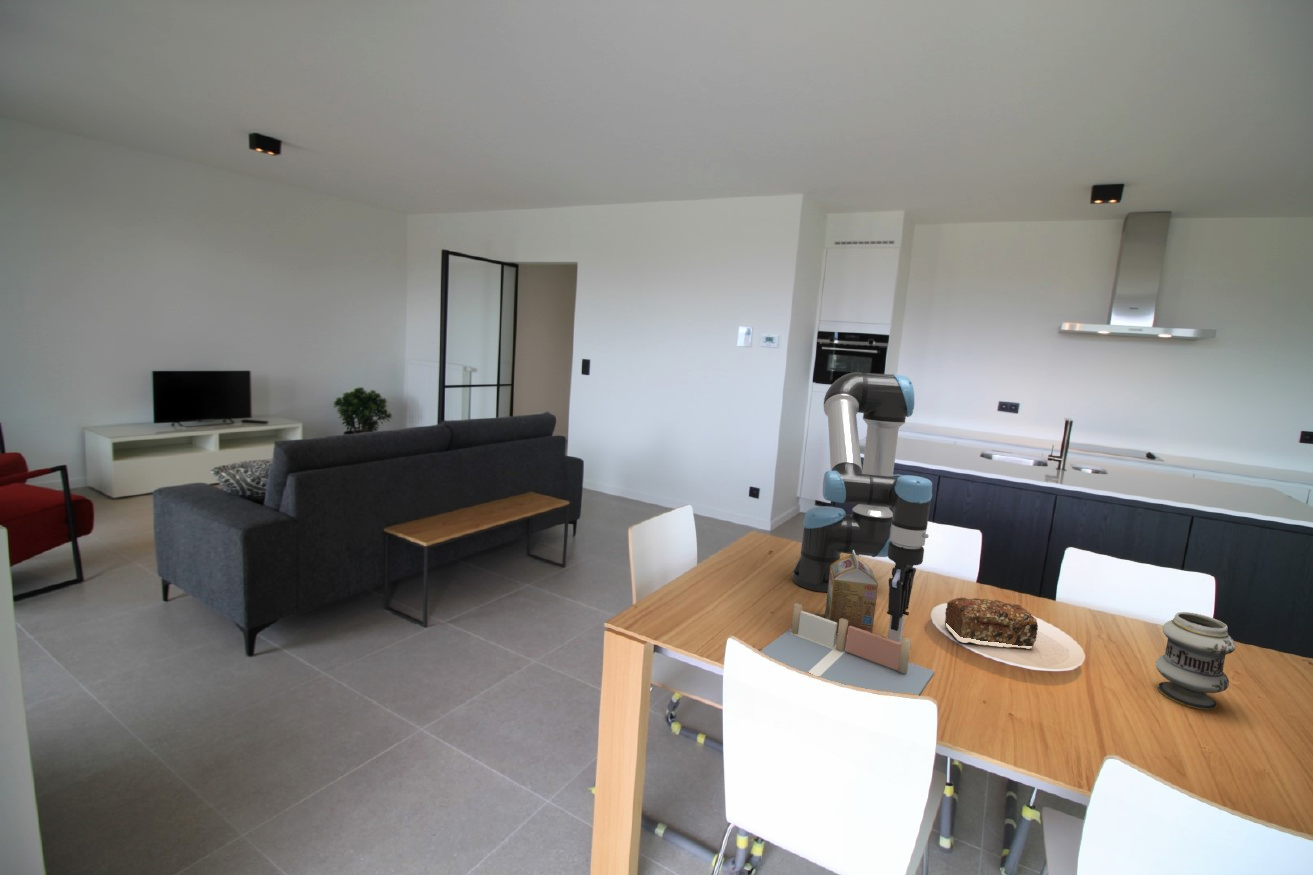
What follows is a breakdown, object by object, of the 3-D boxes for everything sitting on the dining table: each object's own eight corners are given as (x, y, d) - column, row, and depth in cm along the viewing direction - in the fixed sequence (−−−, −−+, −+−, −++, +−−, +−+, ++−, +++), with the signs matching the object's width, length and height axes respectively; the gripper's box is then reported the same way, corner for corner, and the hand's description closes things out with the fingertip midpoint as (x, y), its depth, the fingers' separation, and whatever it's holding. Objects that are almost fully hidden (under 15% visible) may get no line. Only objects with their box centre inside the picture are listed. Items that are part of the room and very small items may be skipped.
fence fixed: (793, 630, 150) (796, 602, 149) (846, 649, 142) (849, 620, 141) (789, 632, 149) (792, 604, 148) (842, 652, 141) (846, 623, 139)
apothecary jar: (1150, 675, 140) (1165, 602, 137) (1220, 696, 133) (1237, 620, 130) (1150, 696, 131) (1166, 619, 128) (1225, 720, 123) (1244, 639, 121)
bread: (958, 645, 149) (964, 607, 148) (941, 625, 160) (947, 590, 158) (1036, 652, 148) (1042, 614, 147) (1014, 632, 159) (1020, 596, 157)
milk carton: (871, 638, 150) (880, 566, 147) (827, 631, 152) (836, 560, 149) (865, 619, 160) (874, 552, 157) (825, 614, 162) (832, 546, 159)
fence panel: (844, 651, 140) (848, 622, 139) (847, 648, 142) (851, 619, 141) (905, 674, 132) (909, 643, 131) (908, 670, 133) (912, 639, 132)
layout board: (798, 624, 155) (798, 622, 155) (934, 673, 135) (934, 670, 135) (756, 655, 138) (756, 653, 138) (904, 717, 118) (905, 714, 118)
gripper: (915, 554, 129) (902, 656, 133) (931, 542, 139) (919, 637, 143) (880, 545, 134) (868, 645, 137) (898, 534, 144) (887, 627, 147)
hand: (894, 641), depth 140 cm, fingers closed
